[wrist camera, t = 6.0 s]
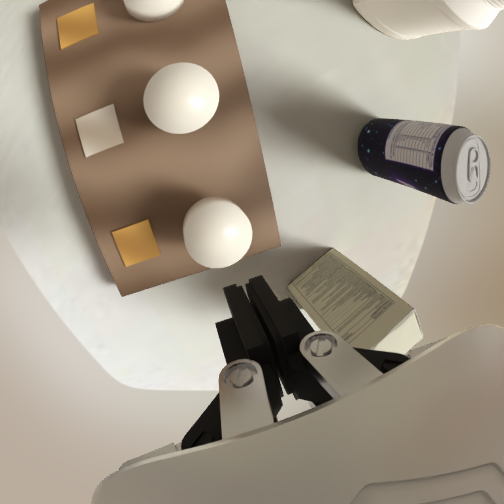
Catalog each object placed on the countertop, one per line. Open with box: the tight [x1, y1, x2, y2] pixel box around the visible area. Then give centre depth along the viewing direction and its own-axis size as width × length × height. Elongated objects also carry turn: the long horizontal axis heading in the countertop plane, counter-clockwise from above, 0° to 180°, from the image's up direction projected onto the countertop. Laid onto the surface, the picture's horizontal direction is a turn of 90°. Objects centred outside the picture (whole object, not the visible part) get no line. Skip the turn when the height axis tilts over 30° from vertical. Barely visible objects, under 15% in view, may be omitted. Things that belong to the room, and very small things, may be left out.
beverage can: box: [358, 118, 491, 204], centre depth 21 cm, size 6×6×12 cm
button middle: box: [143, 62, 219, 134], centre depth 16 cm, size 4×4×2 cm
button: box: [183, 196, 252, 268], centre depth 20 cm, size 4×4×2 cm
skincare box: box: [288, 248, 423, 355], centre depth 25 cm, size 6×4×12 cm
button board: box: [39, 0, 281, 297], centre depth 19 cm, size 26×14×2 cm, turn 13°
